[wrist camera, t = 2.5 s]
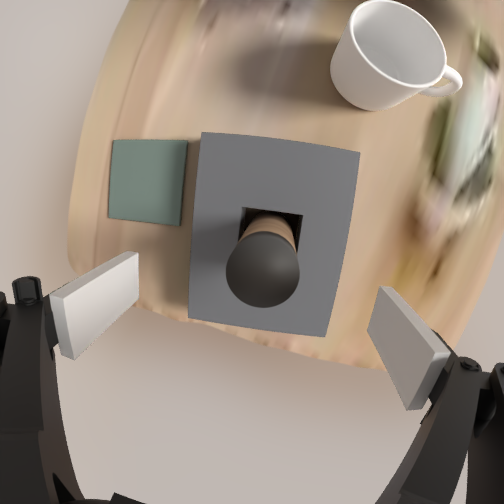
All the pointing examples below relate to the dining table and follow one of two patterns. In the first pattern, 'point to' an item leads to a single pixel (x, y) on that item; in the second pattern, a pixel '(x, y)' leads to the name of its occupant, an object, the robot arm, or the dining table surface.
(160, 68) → the dining table surface
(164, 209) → the mat
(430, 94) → the cup
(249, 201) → the socket block
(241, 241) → the plug
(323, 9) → the dining table surface
